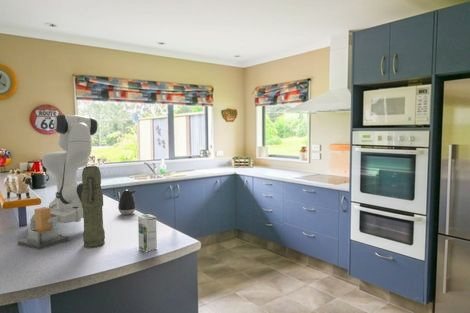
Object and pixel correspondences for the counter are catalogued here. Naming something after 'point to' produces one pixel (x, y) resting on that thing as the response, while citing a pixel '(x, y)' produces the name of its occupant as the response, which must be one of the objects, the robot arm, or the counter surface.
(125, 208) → the black kettle
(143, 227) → the syrup box
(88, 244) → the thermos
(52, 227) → the lumpy-topped squat cylinder
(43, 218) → the tall orange pillar
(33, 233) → the grey rail base plate
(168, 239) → the counter surface
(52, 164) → the robot arm
